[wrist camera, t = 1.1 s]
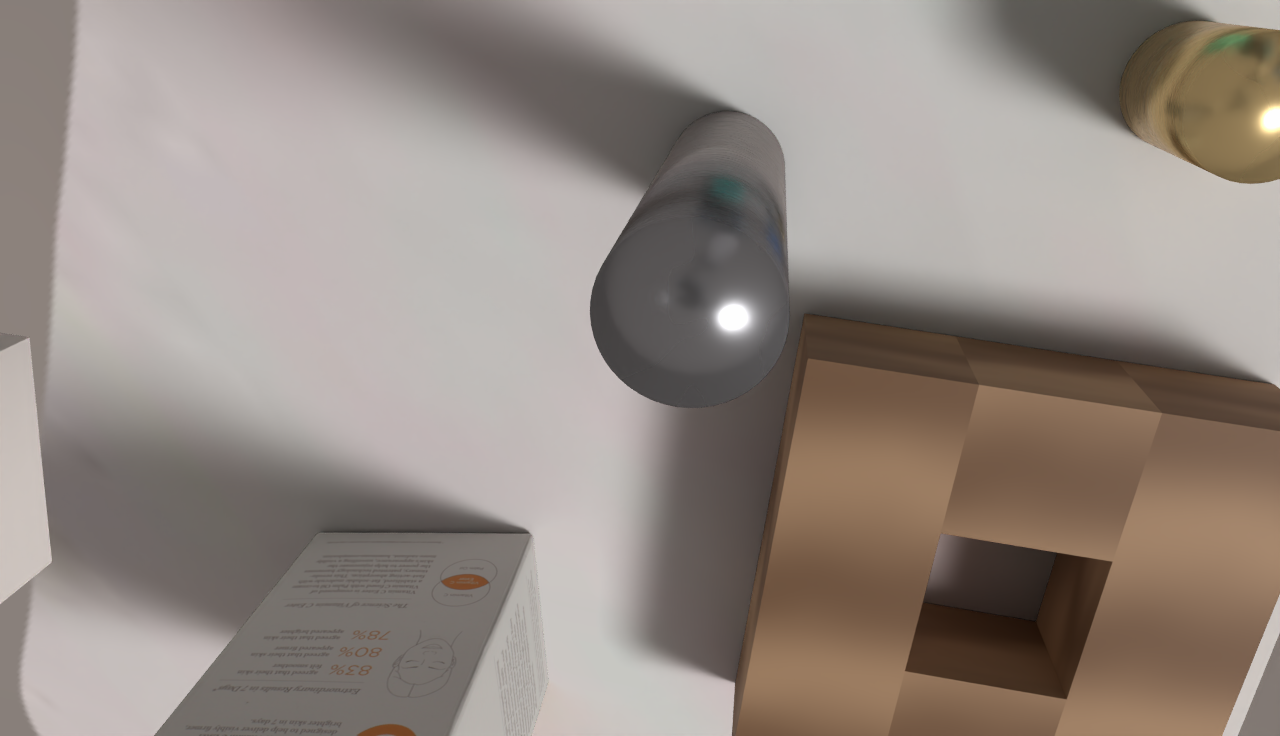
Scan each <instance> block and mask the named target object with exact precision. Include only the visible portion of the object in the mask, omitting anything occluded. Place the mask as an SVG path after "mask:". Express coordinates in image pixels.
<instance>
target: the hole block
mask: <svg viewBox="0 0 1280 736" xmlns="http://www.w3.org/2000/svg"><path fill="white" fill-rule="evenodd" d="M941 533H942V534H948V535H954V536H960V537H966V538H972V539H978V540H984V541H990V542H996V543H1002V544H1008V545H1014V546H1021V547H1027V548H1033V549H1039V550H1045V551H1051V552H1057V555H1056V558H1055V562H1054V565H1053V568H1052V571H1051V575H1050V578H1049V581H1048V584H1047V588H1046V591H1045V594H1044V597H1043V600H1042V604H1041V607H1040V610H1039V613H1038V617H1037V620H1036V622H1034V621H1029V620H1023V619H1017V618H1011V617H1005V616H999V615H993V614H988V613H982V612H976V611H970V610H964V609H958V608H952V607H946V606H941V605H935V604H929V603H923V599H924V595H925V592H926V588H927V584H928V580H929V576H930V572H931V568H932V565H933V561H934V557H935V553H936V549H937V545H938V541H939V538H940V534H941ZM1279 594H1280V389H1279V388H1278V387H1277V386H1275V385H1274V384H1267V383H1261V382H1254V381H1247V380H1241V379H1234V378H1228V377H1221V376H1214V375H1208V374H1201V373H1195V372H1188V371H1181V370H1175V369H1168V368H1162V367H1155V366H1148V365H1142V364H1135V363H1129V362H1122V361H1115V360H1109V359H1102V358H1096V357H1089V356H1082V355H1076V354H1069V353H1063V352H1056V351H1049V350H1043V349H1036V348H1030V347H1023V346H1016V345H1010V344H1003V343H997V342H990V341H983V340H977V339H970V338H964V337H957V336H951V335H944V334H937V333H931V332H924V331H918V330H911V329H904V328H898V327H891V326H885V325H878V324H871V323H865V322H858V321H852V320H845V319H838V318H832V317H825V316H819V315H812V314H805V313H804V318H803V324H802V329H801V334H800V340H799V345H798V350H797V356H796V361H795V366H794V372H793V377H792V383H791V388H790V393H789V399H788V404H787V409H786V415H785V420H784V425H783V431H782V436H781V441H780V447H779V452H778V457H777V463H776V468H775V473H774V479H773V484H772V489H771V495H770V500H769V506H768V511H767V516H766V522H765V527H764V532H763V538H762V543H761V548H760V554H759V559H758V564H757V570H756V575H755V580H754V586H753V591H752V596H751V602H750V607H749V612H748V618H747V623H746V628H745V634H744V639H743V645H742V650H741V655H740V661H739V666H738V671H737V677H736V682H735V694H734V711H733V727H732V736H1222V734H1223V732H1224V729H1225V727H1226V724H1227V722H1228V720H1229V717H1230V715H1231V712H1232V710H1233V707H1234V705H1235V702H1236V700H1237V697H1238V695H1239V693H1240V690H1241V688H1242V685H1243V683H1244V680H1245V678H1246V675H1247V673H1248V670H1249V668H1250V666H1251V663H1252V661H1253V658H1254V656H1255V653H1256V651H1257V648H1258V646H1259V643H1260V641H1261V639H1262V636H1263V634H1264V631H1265V629H1266V626H1267V624H1268V621H1269V619H1270V616H1271V614H1272V612H1273V609H1274V607H1275V604H1276V602H1277V599H1278V597H1279Z"/></svg>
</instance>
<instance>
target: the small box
mask: <svg viewBox="0 0 1280 736" xmlns="http://www.w3.org/2000/svg"><path fill="white" fill-rule="evenodd" d="M548 679H549V678H548V669H547V661H546V652H545V642H544V633H543V624H542V615H541V605H540V596H539V586H538V577H537V567H536V558H535V548H534V539H533V536H532V535H531V534H498V533H317V534H316V535H315V537H314V538H313V539H312V541H311V542H310V543H309V545H308V546H307V547H306V548H305V549H304V550H303V552H302V553H301V554H300V555H299V557H298V558H297V559H296V560H295V562H294V563H293V564H292V565H291V567H290V568H289V569H288V571H287V572H286V573H285V574H284V575H283V576H282V578H281V579H280V580H279V581H278V583H277V584H276V585H275V586H274V588H273V589H272V590H271V591H270V593H269V594H268V595H267V596H266V598H265V599H264V600H263V601H262V603H261V604H260V605H259V606H258V607H257V609H256V610H255V611H254V612H253V614H252V615H251V616H250V617H249V619H248V620H247V621H246V622H245V624H244V625H243V626H242V627H241V629H240V630H239V631H238V632H237V634H236V635H235V636H234V637H233V639H232V640H231V641H230V642H229V644H228V645H227V646H226V647H225V649H224V650H223V651H222V652H221V654H220V655H219V656H218V657H217V658H216V660H215V661H214V662H213V663H212V665H211V666H210V667H209V668H208V670H207V671H206V672H205V673H204V675H203V676H202V677H201V678H200V680H199V681H198V682H197V683H196V685H195V686H194V687H193V688H192V689H191V691H190V692H189V693H188V694H187V696H186V697H185V698H184V699H183V701H182V702H181V703H180V704H179V706H178V707H177V708H176V709H175V711H174V712H173V713H172V714H171V715H170V717H169V718H168V719H167V720H166V722H165V723H164V724H163V725H162V727H161V728H160V729H159V730H158V732H157V733H156V734H155V735H154V736H532V733H533V730H534V727H535V723H536V720H537V717H538V714H539V711H540V707H541V704H542V701H543V698H544V695H545V692H546V688H547V685H548Z"/></svg>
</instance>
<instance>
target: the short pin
mask: <svg viewBox="0 0 1280 736" xmlns="http://www.w3.org/2000/svg"><path fill="white" fill-rule="evenodd" d="M1119 98H1120V107H1121V111H1122V114H1123V117H1124V119H1125V121H1126V123H1127V125H1128V126H1129V127H1130V129H1131V130H1132V131H1133V132H1134V133H1135V134H1136V135H1137V136H1138V137H1139V138H1141V139H1142V140H1143V141H1145V142H1147V143H1149V144H1151V145H1153V146H1155V147H1157V148H1160V149H1162V150H1164V151H1166V152H1168V153H1170V154H1172V155H1174V156H1176V157H1179V158H1181V159H1183V160H1185V161H1187V162H1189V163H1191V164H1193V165H1196V166H1198V167H1200V168H1202V169H1204V170H1206V171H1208V172H1210V173H1212V174H1215V175H1217V176H1219V177H1221V178H1224V179H1226V180H1229V181H1233V182H1238V183H1248V184H1253V183H1264V182H1270V181H1274V180H1277V179H1280V30H1273V29H1265V28H1257V27H1249V26H1241V25H1232V24H1224V23H1216V22H1208V21H1186V22H1181V23H1177V24H1174V25H1171V26H1169V27H1166V28H1164V29H1162V30H1160V31H1159V32H1157V33H1155V34H1154V35H1152V36H1151V37H1150V38H1148V39H1147V40H1146V41H1145V42H1144V43H1143V44H1142V45H1141V46H1140V47H1139V48H1138V49H1137V50H1136V52H1135V53H1134V54H1133V56H1132V57H1131V59H1130V60H1129V62H1128V64H1127V66H1126V68H1125V70H1124V73H1123V76H1122V79H1121V84H1120V92H1119Z"/></svg>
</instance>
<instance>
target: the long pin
mask: <svg viewBox="0 0 1280 736" xmlns="http://www.w3.org/2000/svg"><path fill="white" fill-rule="evenodd" d="M590 317H591V326H592V331H593V335H594V338H595V341H596V344H597V346H598V349H599V351H600V353H601V355H602V356H603V358H604V360H605V362H606V363H607V364H608V366H609V367H610V369H611V370H612V371H613V372H614V373H615V374H616V375H617V376H618V378H619V379H620V380H622V381H623V382H624V383H625V384H626V385H627V386H629V387H630V388H631V389H633V390H635V391H636V392H638V393H639V394H641V395H643V396H645V397H647V398H649V399H651V400H654V401H656V402H659V403H662V404H666V405H670V406H675V407H684V408H702V407H708V406H714V405H718V404H722V403H725V402H728V401H730V400H733V399H735V398H737V397H739V396H741V395H743V394H744V393H746V392H748V391H749V390H750V389H752V388H753V387H754V386H756V385H757V384H758V383H759V382H760V381H761V380H762V379H763V378H764V377H765V376H766V375H767V374H768V373H769V372H770V370H771V369H772V368H773V366H774V365H775V363H776V361H777V360H778V358H779V356H780V355H781V352H782V350H783V347H784V345H785V342H786V338H787V334H788V329H789V320H790V314H789V281H788V249H787V216H786V184H785V161H784V155H783V152H782V148H781V146H780V144H779V142H778V140H777V138H776V137H775V135H774V134H773V133H772V131H771V130H770V129H769V128H768V127H767V126H766V125H765V124H764V123H762V122H761V121H759V120H758V119H756V118H754V117H752V116H750V115H747V114H744V113H740V112H735V111H720V112H715V113H711V114H708V115H705V116H703V117H701V118H699V119H698V120H696V121H695V122H693V123H692V124H691V125H689V126H688V127H687V128H686V129H685V130H684V132H683V133H682V134H681V135H680V137H679V138H678V140H677V141H676V143H675V145H674V146H673V148H672V150H671V151H670V153H669V155H668V156H667V158H666V160H665V161H664V163H663V165H662V166H661V168H660V170H659V171H658V173H657V175H656V176H655V178H654V180H653V181H652V183H651V185H650V186H649V188H648V190H647V191H646V193H645V195H644V196H643V198H642V200H641V201H640V203H639V205H638V206H637V208H636V210H635V211H634V213H633V215H632V216H631V218H630V220H629V221H628V223H627V225H626V226H625V228H624V230H623V231H622V233H621V235H620V236H619V238H618V240H617V241H616V243H615V245H614V246H613V248H612V250H611V251H610V253H609V255H608V256H607V258H606V260H605V261H604V263H603V265H602V266H601V268H600V271H599V273H598V275H597V277H596V280H595V283H594V286H593V290H592V295H591V302H590Z"/></svg>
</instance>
